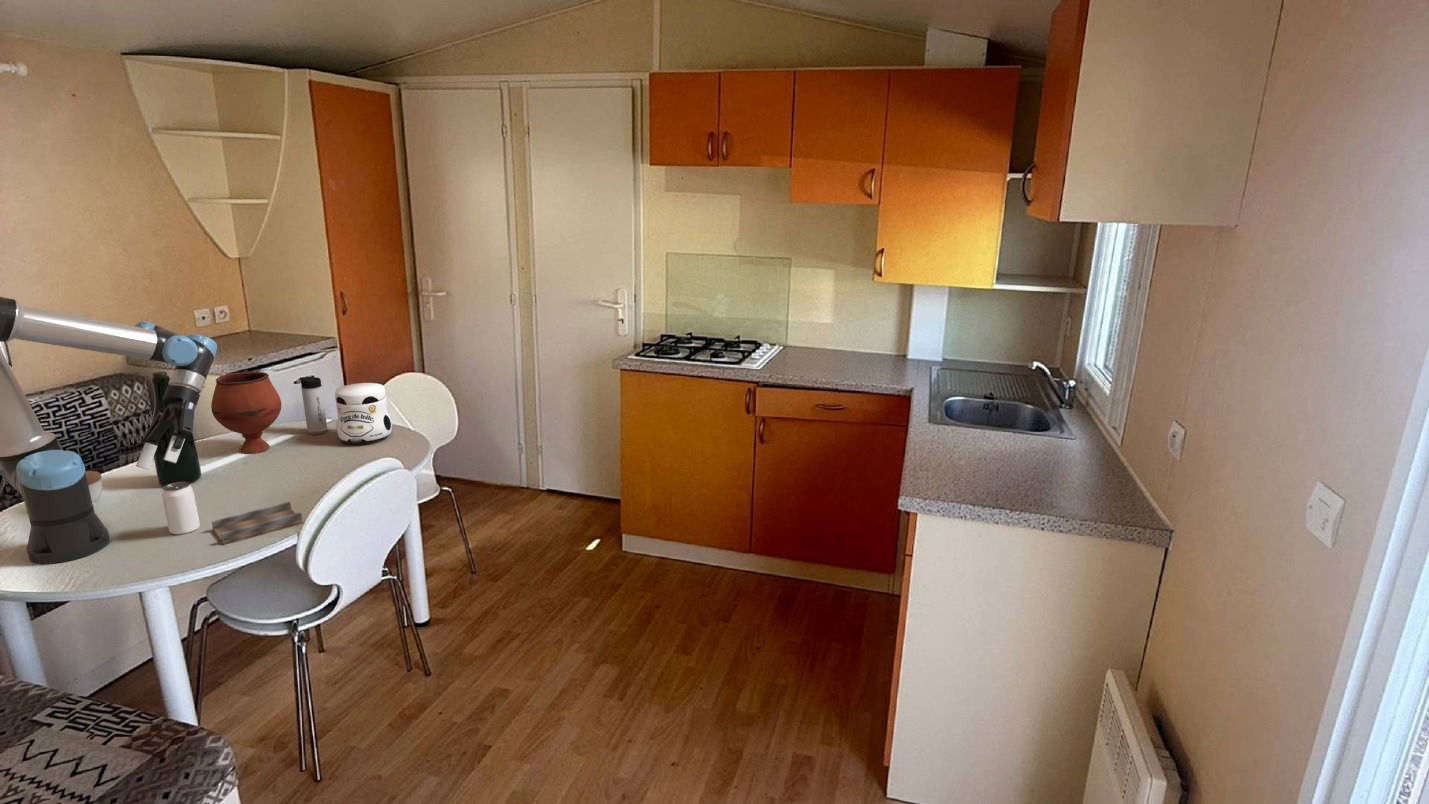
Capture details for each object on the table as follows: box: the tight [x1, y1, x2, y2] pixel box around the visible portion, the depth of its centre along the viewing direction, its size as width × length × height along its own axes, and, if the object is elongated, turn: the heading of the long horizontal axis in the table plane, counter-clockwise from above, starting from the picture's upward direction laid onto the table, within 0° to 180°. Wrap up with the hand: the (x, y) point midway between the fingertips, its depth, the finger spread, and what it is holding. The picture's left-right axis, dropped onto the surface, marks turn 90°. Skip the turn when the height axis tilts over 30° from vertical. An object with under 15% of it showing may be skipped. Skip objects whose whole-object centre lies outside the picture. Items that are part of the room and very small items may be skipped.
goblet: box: [210, 371, 282, 455], centre depth 243 cm, size 19×19×25 cm
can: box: [161, 482, 201, 536], centre depth 190 cm, size 6×6×12 cm
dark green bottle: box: [149, 371, 202, 487], centre depth 216 cm, size 10×10×33 cm
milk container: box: [334, 382, 393, 444], centre depth 256 cm, size 17×17×18 cm
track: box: [211, 501, 304, 546], centre depth 193 cm, size 18×11×3 cm, turn 135°
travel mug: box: [298, 376, 329, 436], centre depth 262 cm, size 6×7×20 cm
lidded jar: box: [85, 470, 103, 505], centre depth 203 cm, size 11×11×9 cm
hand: (155, 464), depth 193 cm, fingers open, 13 cm apart
